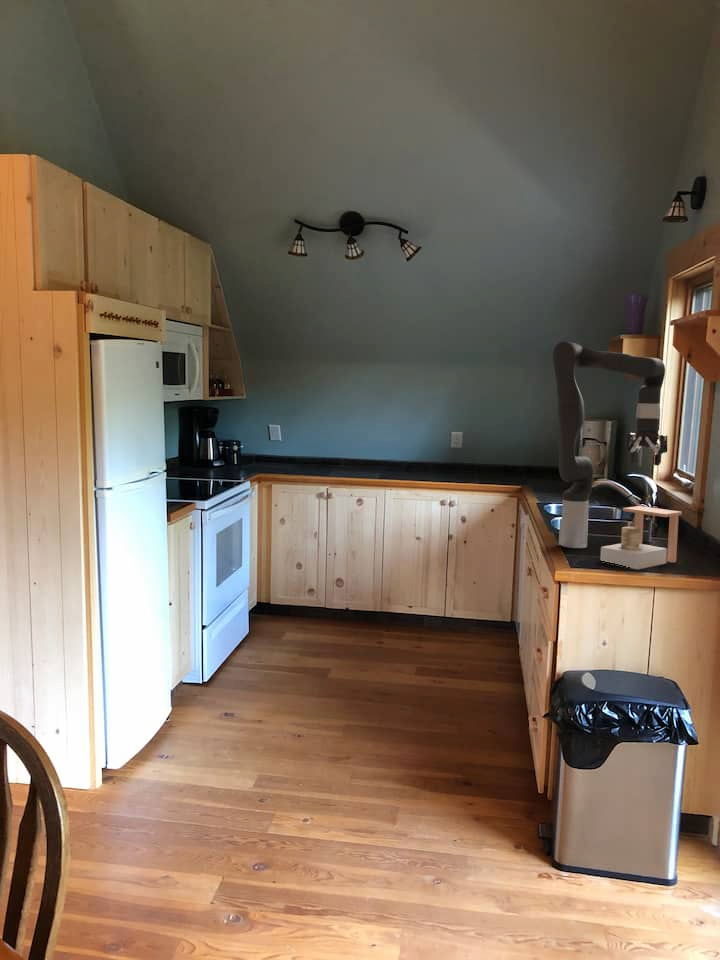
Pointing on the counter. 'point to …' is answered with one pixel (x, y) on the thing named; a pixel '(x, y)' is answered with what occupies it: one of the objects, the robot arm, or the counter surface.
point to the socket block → (634, 556)
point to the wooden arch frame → (672, 514)
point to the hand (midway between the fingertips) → (645, 464)
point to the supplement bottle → (646, 528)
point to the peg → (630, 538)
